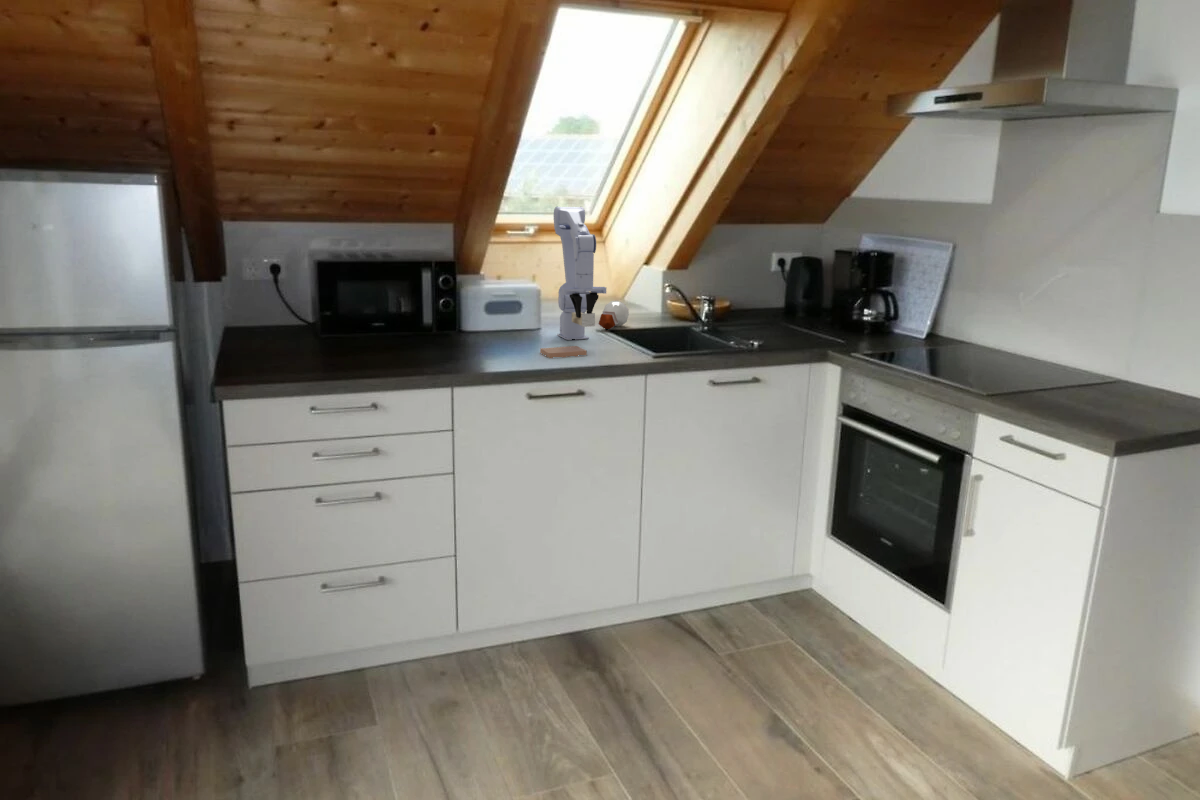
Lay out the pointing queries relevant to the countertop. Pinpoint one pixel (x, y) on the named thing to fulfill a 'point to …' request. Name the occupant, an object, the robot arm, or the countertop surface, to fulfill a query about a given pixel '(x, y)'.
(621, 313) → the potion bottle
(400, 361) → the countertop surface
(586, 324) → the capped square post
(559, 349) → the tile
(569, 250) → the robot arm
